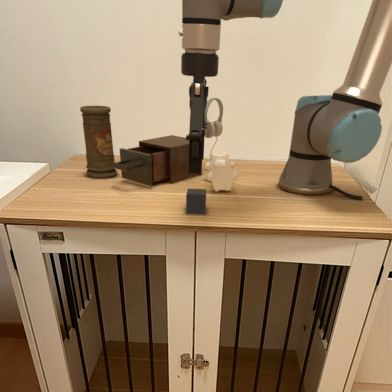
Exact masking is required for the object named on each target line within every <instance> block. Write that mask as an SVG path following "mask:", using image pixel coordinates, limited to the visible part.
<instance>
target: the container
mask: <svg viewBox="0 0 392 392" xmlns="http://www.w3.org/2000/svg"><path fill="white" fill-rule="evenodd" d="M79 110H80V112H81V117H82V128H83V129H82V130H83V136H84V144H85V145H84V146H85V159H86V166H85V168H86V169H87V170H86V176H87V177H89V178H93V179H110V178H114V177H116V176H117V175H118V169H115V168H111V167H110V166H109V163H110V162H114V163H116V162H115V154H114V144H113V135H112V133H113V132H112V123H111V114H110V113H111V111H112V109H111V107H110V106H106V105H82V106H80V108H79Z"/></svg>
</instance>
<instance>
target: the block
mask: <svg viewBox="0 0 392 392" xmlns="http://www.w3.org/2000/svg"><path fill="white" fill-rule="evenodd" d="M185 199H186V200H185V201H186V203H185V213H186V214H187V215H189V214H190V215H206V210H207V189H206V188H205V189H204V188H187V190H186V197H185Z"/></svg>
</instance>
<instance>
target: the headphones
mask: <svg viewBox="0 0 392 392" xmlns="http://www.w3.org/2000/svg"><path fill="white" fill-rule="evenodd" d="M213 101H216V103H217V105H218V109H219V115H218V117H217V119H216V120H214V121H209V119H208V111H209V108H210V106H211V104H212V102H213ZM223 115H224V105H223V102H222V100H220V98H217V97H210V98H209V99H207V106H206V109H205V124H208V128H207V129H205V137H204V138H205V139H211V138H213V137H215V138H218V137H220V136H221V135H222V133H223V129H224V127H223V124H222V122H223ZM217 142H218V139H216V140H215V142H214V143H213V146H212V147H211V150H210V152H213V149H214V147H215V145H216V144H217Z"/></svg>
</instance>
